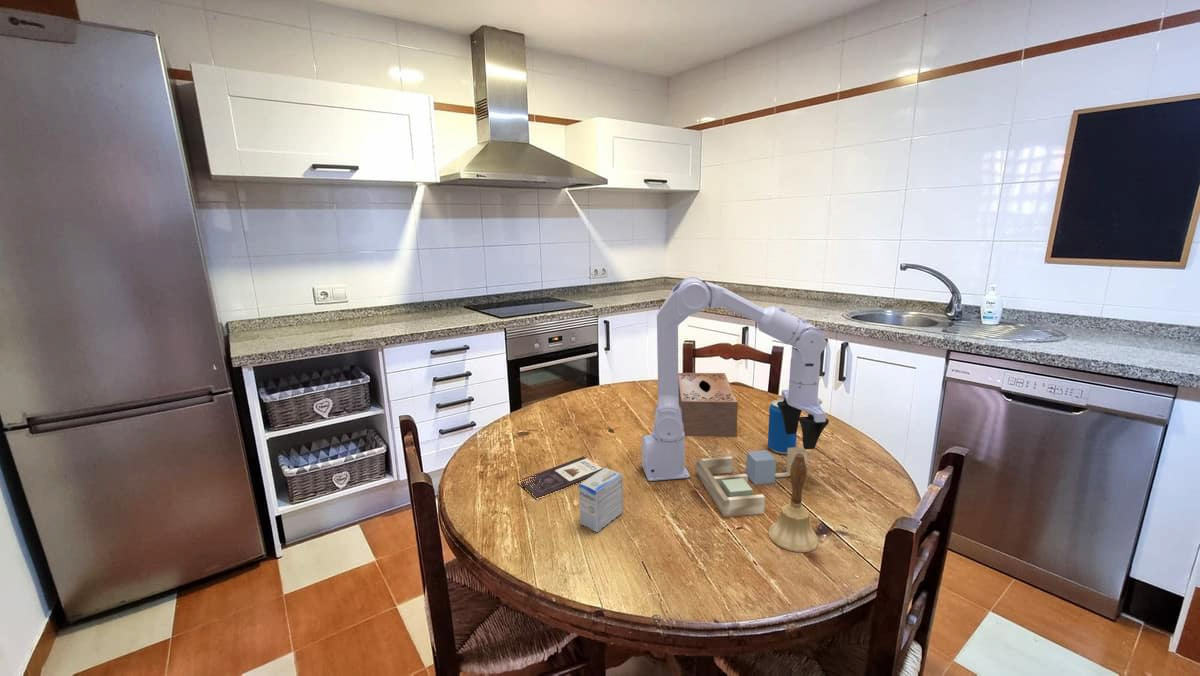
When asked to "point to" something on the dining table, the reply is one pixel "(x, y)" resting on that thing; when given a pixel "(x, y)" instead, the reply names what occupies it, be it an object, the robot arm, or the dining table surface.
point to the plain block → (736, 488)
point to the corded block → (769, 465)
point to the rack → (714, 487)
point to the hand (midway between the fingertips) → (799, 440)
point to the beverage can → (779, 431)
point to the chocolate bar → (561, 476)
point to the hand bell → (795, 516)
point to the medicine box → (601, 499)
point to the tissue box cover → (707, 405)
